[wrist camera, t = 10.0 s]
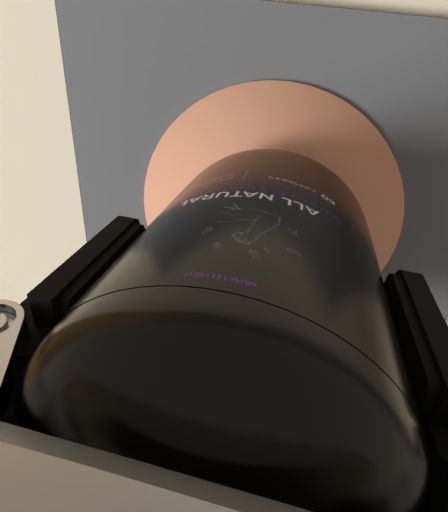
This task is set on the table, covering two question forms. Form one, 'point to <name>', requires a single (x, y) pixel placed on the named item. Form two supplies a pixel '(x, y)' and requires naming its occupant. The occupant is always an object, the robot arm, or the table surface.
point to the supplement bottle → (244, 347)
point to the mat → (263, 108)
